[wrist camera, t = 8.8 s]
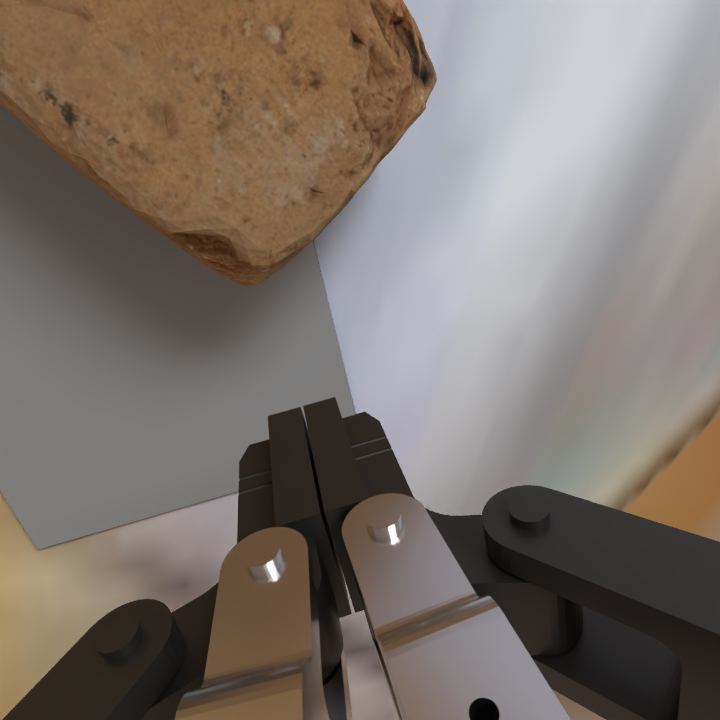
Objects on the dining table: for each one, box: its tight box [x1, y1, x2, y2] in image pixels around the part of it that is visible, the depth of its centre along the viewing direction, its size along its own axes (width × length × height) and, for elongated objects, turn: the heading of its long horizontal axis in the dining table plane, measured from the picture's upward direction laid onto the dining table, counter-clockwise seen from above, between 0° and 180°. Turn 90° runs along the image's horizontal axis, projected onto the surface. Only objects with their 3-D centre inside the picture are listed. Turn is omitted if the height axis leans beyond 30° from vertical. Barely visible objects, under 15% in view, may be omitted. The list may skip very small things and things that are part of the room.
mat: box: [0, 103, 356, 550], centre depth 24 cm, size 18×22×1 cm
